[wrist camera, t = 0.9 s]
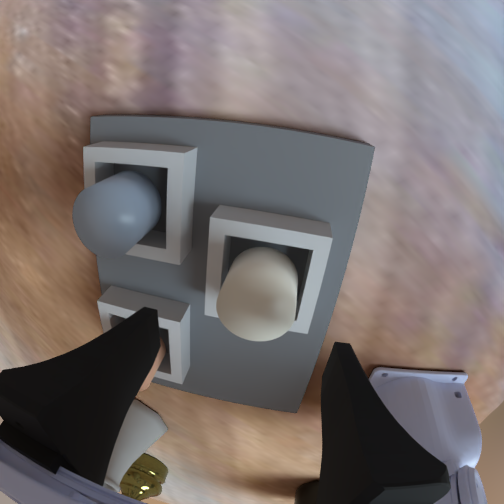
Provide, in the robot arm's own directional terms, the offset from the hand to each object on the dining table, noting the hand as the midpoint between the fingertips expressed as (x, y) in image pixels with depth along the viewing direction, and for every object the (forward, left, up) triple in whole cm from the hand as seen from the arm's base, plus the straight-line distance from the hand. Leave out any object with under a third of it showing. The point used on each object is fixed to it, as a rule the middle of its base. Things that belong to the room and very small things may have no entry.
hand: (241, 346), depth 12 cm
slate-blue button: (+7, -3, -5) cm, 10 cm away
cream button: (0, 0, -5) cm, 5 cm away
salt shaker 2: (+12, +37, -9) cm, 40 cm away
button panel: (+3, +3, -8) cm, 9 cm away
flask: (+11, +23, -9) cm, 27 cm away
